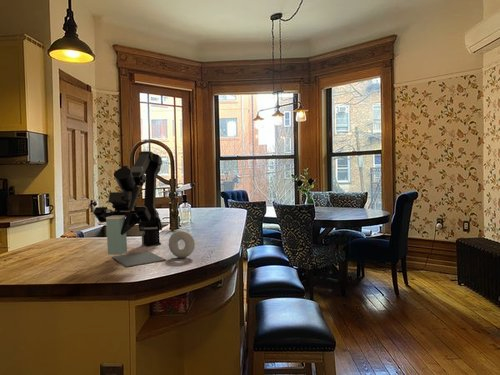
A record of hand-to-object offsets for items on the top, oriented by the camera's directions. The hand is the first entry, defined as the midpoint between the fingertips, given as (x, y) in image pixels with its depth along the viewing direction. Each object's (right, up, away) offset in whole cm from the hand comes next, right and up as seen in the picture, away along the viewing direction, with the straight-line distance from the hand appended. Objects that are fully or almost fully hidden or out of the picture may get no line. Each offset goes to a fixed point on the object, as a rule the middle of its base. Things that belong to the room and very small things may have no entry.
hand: (114, 234), depth 123 cm
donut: (+21, -10, +10) cm, 25 cm away
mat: (+5, -10, +10) cm, 15 cm away
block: (0, -7, +2) cm, 7 cm away
